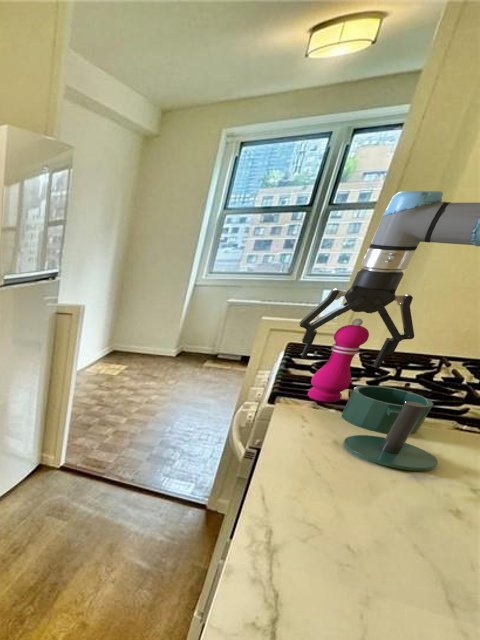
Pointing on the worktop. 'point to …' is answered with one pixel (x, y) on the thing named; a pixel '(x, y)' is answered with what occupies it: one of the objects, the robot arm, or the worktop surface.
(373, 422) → the pot
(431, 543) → the worktop surface
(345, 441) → the teal disc with rod
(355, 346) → the pepper mill
